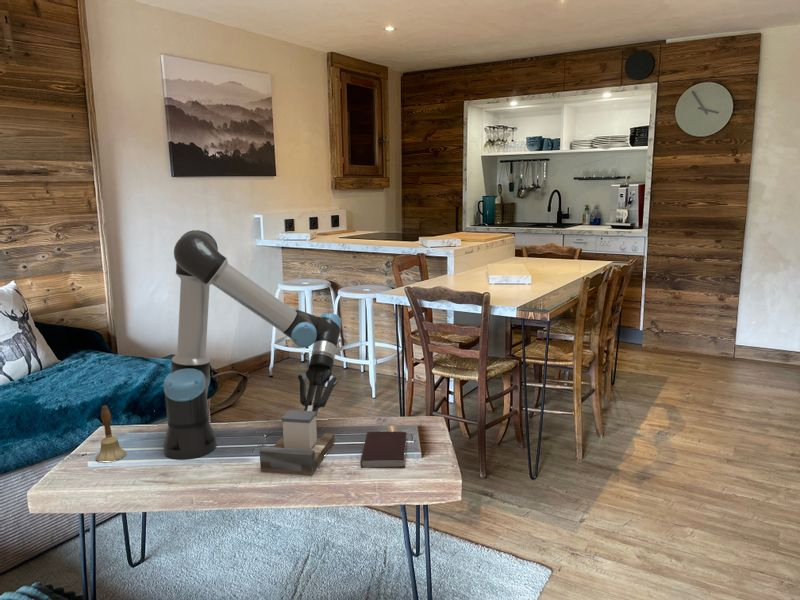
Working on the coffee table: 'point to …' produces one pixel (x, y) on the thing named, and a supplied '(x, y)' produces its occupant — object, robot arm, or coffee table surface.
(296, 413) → the beige upright block
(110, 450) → the hand bell
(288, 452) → the dark open tray
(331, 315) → the robot arm
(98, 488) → the coffee table surface
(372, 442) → the book
